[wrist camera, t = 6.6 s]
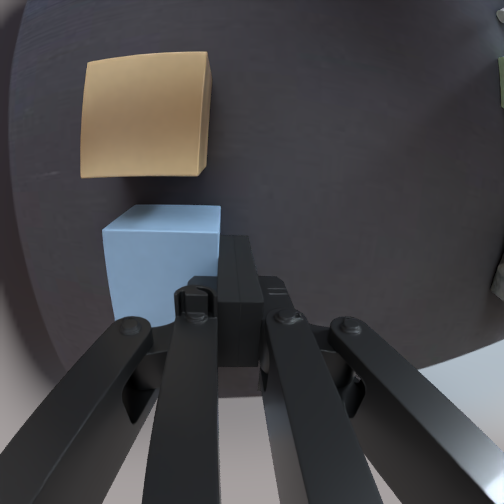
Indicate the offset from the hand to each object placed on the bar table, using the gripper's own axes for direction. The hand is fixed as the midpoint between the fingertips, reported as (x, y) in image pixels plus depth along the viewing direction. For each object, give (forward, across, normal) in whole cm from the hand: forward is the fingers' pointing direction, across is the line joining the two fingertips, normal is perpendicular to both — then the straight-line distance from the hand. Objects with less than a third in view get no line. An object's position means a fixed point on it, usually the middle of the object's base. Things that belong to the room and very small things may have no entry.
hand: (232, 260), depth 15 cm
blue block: (+2, -3, 0) cm, 4 cm away
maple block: (+2, -4, +7) cm, 8 cm away
